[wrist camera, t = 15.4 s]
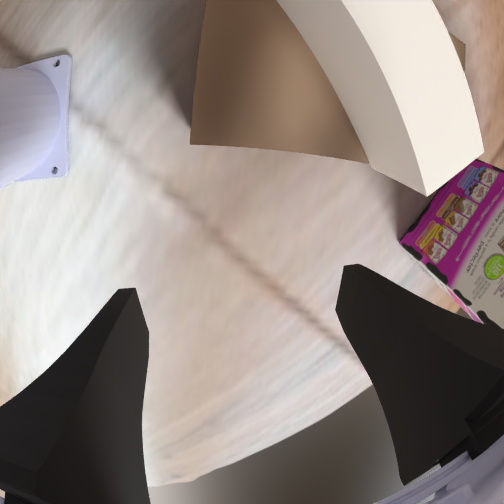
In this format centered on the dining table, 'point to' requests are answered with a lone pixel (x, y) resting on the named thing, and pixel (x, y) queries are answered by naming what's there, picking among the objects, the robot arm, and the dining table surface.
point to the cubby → (267, 85)
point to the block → (395, 84)
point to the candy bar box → (465, 241)
